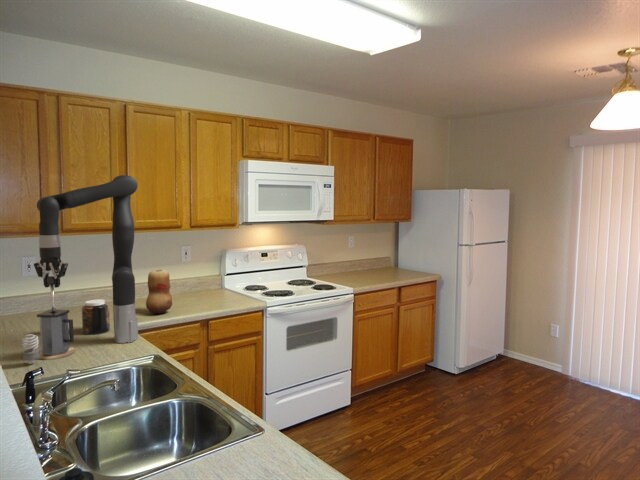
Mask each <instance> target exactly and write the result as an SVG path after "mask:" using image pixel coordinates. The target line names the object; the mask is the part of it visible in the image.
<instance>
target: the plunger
mask: <svg viewBox="0 0 640 480" xmlns="http://www.w3.org/2000/svg"><path fill="white" fill-rule="evenodd" d="M54 279H55V278H54V275H49V276H48V277H47V285H50V301H51V305H50V307H51V309H52V313H55V308H56V304H55V303H56V302H55V287H54Z"/></svg>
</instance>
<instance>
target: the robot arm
mask: <svg viewBox="0 0 640 480" xmlns="http://www.w3.org/2000/svg"><path fill="white" fill-rule="evenodd" d="M137 190H138V182H137V180H136V178H134V177H133V176H131V175H128V174H121V175H120V174H119V175H117V176H115V177H113V180H111V181H109V182H105V183H102V184H98V185H92V186H91V185H90V186H85V187H82V188H76V189H72V190H69V191H65V192H63V193H57V194H53V195H48V196H43V197H41V198H39V199H38V200H37V202H36V209H37V210H38V211H39V219H40V220H39V222H38V223H39V224H38V233H39V235H38V249H39V258H40V260H39V261H38V262H34V263H33V266H34V268H35V269H34V270H35V271H36V274H37V277H38V278H42V279H43V282H42V283H43V286H44V288H49V287H50V285H47V277H48V276H50V273H52V276H54V278H55V279H54V289H55V288H60V286H61V278H62V277H63V278H64V277H65V276H66V272H67V270H68V266H69V263H68V262H63V261H62V259H61V257H62V253H61V252H62V249H61V238H60V226H59V220H60V219H59V218H60V211H62V210H66V209H74V208H78V207H81V206H85V205H89V204H91V203H95V202H99V201H102V200H105V199H109V198H112V203H113V204H112V206H113V207H112V225H111V227H112V228H111V229H112V230H111V231H112V233H111V237H112V238H111V239H112V249H113V269H112V274H111V281H112V309H113V311H112V312H113V313H112V316H113V333H114V334H113V335H114V337H113V338H114V343H118V344H126V342H128V343H133V342H135V341H137V339H139V326H138V322H139V321H138V318H136V279H135V274H134V273H133V272H134V271H133V263H132V257H133V255H132V254H133V249H134V244H135V221H134V218H133V217H134V216H133V214H132V209H131V199H132V198H131V197H132V195H133V194H134V193H136V191H137ZM134 340H135V341H134ZM132 341H133V342H132Z"/></svg>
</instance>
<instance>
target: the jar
mask: <svg viewBox="0 0 640 480" xmlns="http://www.w3.org/2000/svg"><path fill="white" fill-rule="evenodd" d="M105 301H106V300H105V299H91V300H87V301H85V302H84V303H85V305H83V306H82V307H81V324H82V334H83V335H88V336H89V335H90V336H91V335H92V336H93V335H100V334H105V333H108V332H110V329H111V325H110V323H111V322H110V321H111V318H110V306H109V304H108V303H106V302H105Z"/></svg>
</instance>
